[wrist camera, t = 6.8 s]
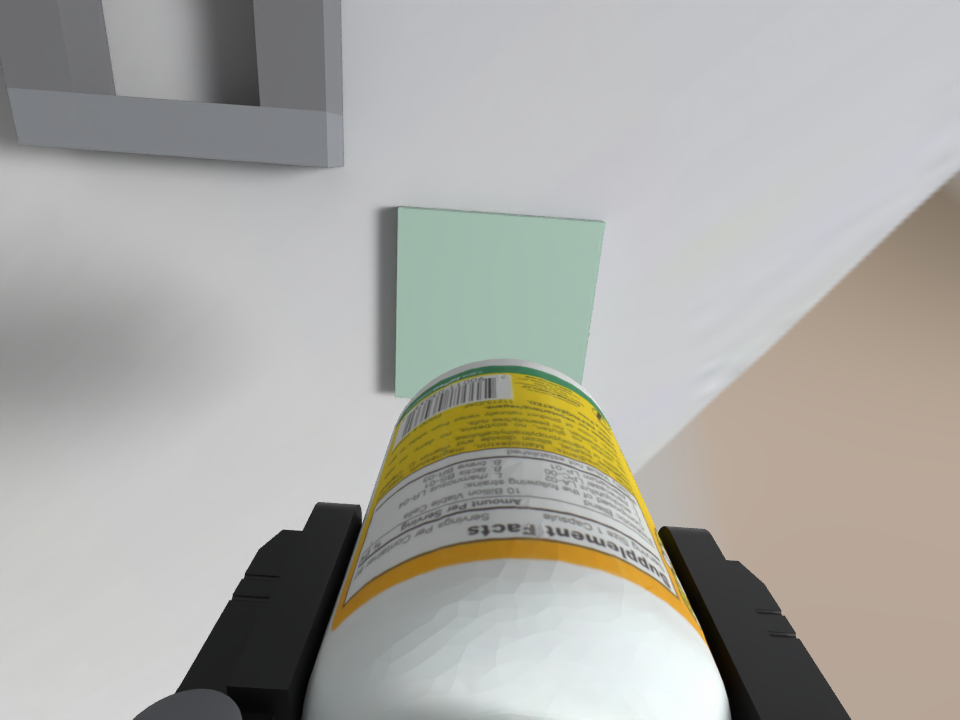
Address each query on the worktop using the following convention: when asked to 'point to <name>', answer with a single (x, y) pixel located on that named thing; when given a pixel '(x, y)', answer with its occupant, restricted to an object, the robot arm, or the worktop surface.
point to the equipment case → (172, 123)
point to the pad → (492, 291)
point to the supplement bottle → (510, 570)
